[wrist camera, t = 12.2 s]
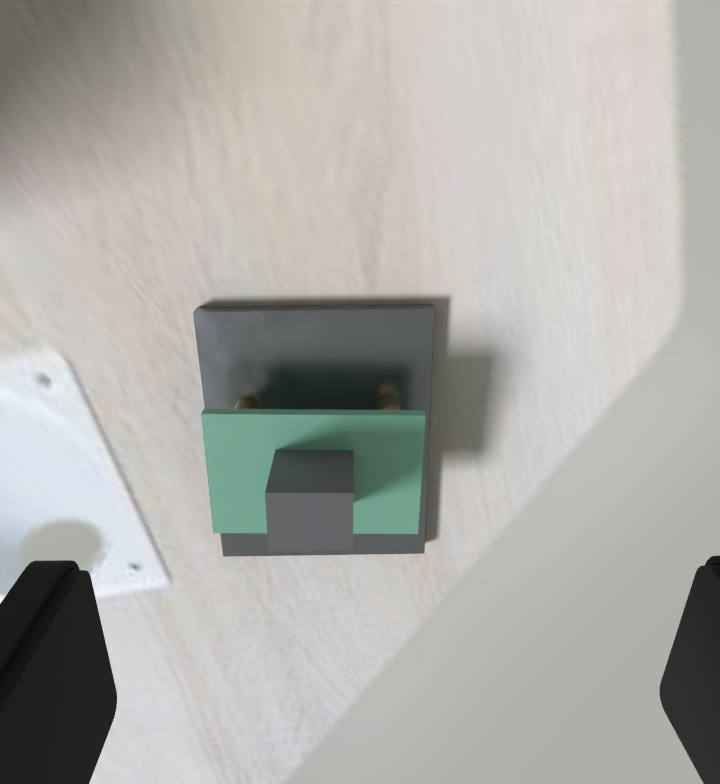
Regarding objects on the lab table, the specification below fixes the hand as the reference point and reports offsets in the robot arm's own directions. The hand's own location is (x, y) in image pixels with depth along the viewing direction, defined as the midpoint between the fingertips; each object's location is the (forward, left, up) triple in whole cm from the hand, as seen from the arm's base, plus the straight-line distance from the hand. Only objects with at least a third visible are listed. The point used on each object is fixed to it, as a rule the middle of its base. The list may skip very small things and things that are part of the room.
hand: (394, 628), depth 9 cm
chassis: (+14, -3, -33) cm, 35 cm away
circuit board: (+13, -3, -27) cm, 31 cm away
